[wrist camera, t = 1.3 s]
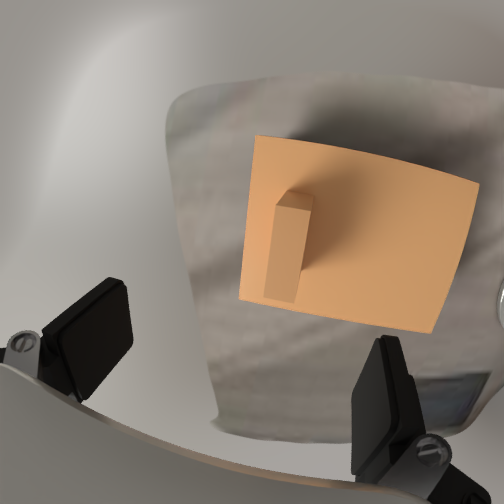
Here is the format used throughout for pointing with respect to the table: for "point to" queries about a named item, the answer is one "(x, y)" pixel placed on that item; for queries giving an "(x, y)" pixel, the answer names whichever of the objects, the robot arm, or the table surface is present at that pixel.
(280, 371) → the table surface
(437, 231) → the lid
